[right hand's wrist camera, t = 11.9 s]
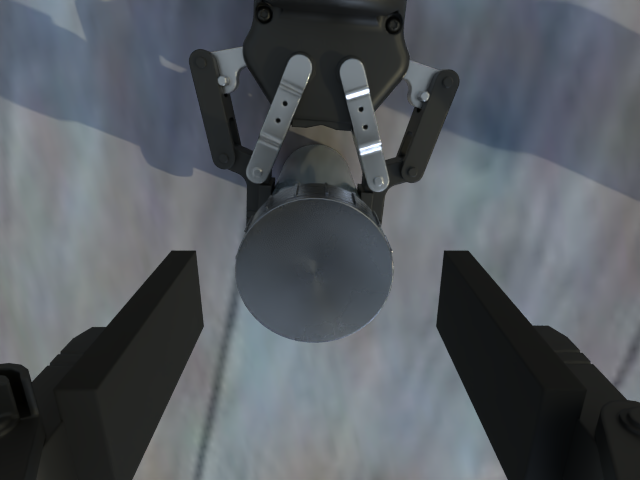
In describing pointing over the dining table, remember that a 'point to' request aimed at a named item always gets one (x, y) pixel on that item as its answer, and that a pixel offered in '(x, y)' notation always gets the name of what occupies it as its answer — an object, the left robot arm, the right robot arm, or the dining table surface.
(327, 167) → the jar
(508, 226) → the dining table surface
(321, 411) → the dining table surface
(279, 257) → the lid
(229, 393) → the dining table surface
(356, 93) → the left robot arm
